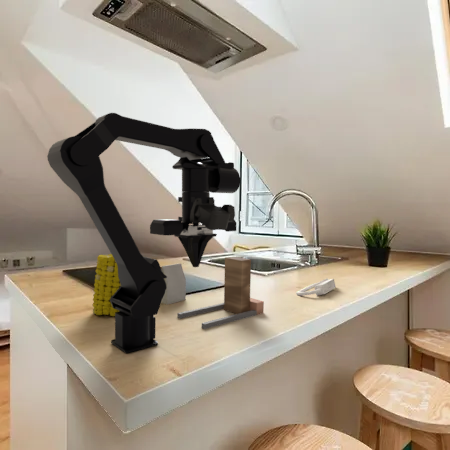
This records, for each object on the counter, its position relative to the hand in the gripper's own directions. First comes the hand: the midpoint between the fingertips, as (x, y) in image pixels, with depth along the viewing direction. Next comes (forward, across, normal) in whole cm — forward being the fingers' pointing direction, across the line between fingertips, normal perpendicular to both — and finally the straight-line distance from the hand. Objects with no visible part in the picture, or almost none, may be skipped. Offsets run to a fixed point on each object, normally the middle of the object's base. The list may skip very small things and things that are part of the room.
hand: (195, 267), depth 76 cm
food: (+13, -8, +21) cm, 26 cm away
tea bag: (+13, +8, +21) cm, 26 cm away
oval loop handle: (+14, +50, +3) cm, 52 cm away
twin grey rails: (+13, +10, +3) cm, 17 cm away
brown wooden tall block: (+13, +15, +3) cm, 20 cm away
